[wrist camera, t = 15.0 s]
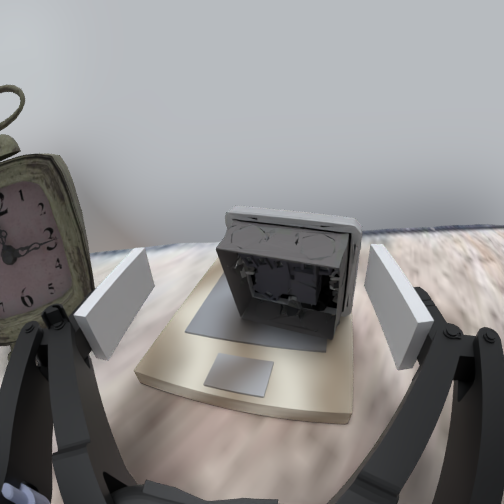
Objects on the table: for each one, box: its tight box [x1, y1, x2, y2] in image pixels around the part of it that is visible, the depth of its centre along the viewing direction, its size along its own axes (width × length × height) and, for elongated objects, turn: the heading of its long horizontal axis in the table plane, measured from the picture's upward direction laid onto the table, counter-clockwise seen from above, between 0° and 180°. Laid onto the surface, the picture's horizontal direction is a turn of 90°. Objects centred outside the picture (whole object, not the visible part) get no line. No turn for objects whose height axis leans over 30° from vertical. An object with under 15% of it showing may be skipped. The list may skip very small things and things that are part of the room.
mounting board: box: [134, 257, 353, 424], centre depth 25 cm, size 15×22×2 cm
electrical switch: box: [216, 206, 362, 340], centre depth 19 cm, size 9×5×9 cm, turn 64°
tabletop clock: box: [0, 85, 95, 361], centre depth 16 cm, size 14×9×25 cm, turn 126°
